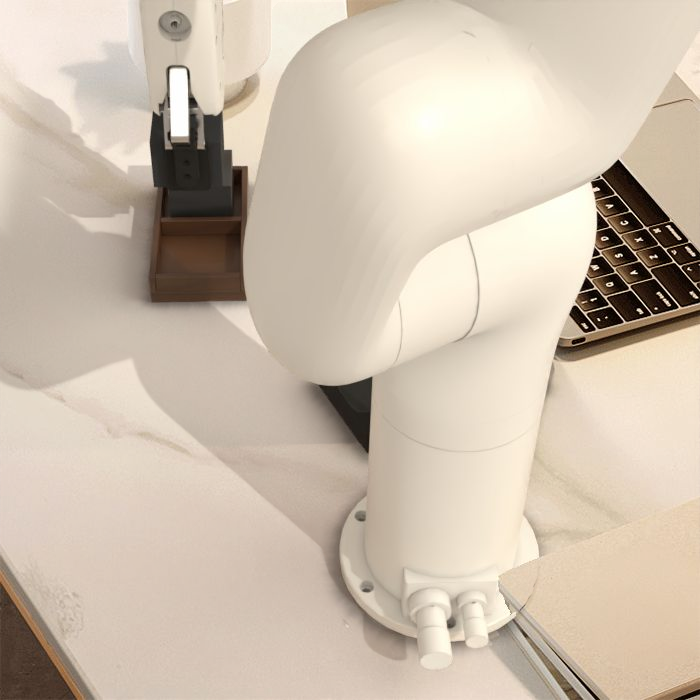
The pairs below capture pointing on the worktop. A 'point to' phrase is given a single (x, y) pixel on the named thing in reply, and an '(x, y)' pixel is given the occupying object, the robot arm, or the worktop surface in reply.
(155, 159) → the block
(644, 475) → the worktop surface
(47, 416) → the worktop surface
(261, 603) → the worktop surface
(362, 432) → the vhs tape
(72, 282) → the worktop surface
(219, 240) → the partitioned wooden crate
